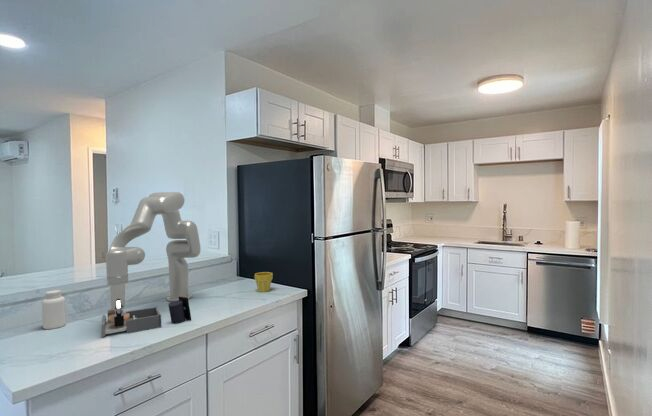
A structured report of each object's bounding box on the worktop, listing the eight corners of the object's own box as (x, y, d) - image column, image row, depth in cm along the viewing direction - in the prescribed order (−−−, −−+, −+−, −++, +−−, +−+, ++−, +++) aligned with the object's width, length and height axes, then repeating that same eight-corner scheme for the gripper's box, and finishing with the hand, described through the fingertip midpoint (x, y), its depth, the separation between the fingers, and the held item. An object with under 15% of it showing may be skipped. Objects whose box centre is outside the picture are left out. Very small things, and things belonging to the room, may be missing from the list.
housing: (157, 317, 159) (157, 306, 159) (161, 327, 146) (160, 315, 146) (125, 323, 153) (125, 311, 153) (126, 333, 140) (126, 320, 140)
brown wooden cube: (108, 321, 155) (107, 310, 155) (121, 319, 158) (120, 308, 158) (107, 324, 151) (107, 313, 151) (121, 322, 154) (121, 311, 154)
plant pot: (276, 289, 205) (276, 273, 205) (262, 293, 197) (262, 276, 197) (265, 287, 212) (264, 271, 212) (251, 291, 204) (250, 274, 204)
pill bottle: (40, 331, 146) (39, 294, 145) (45, 325, 153) (44, 290, 153) (64, 327, 149) (63, 292, 149) (67, 322, 156) (66, 288, 156)
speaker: (186, 316, 159) (183, 294, 157) (191, 320, 154) (188, 297, 153) (168, 322, 154) (166, 299, 152) (173, 326, 149) (171, 302, 148)
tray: (137, 320, 155) (136, 309, 155) (139, 330, 142) (138, 318, 142) (103, 326, 148) (102, 315, 148) (102, 337, 136) (101, 324, 136)
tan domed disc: (108, 319, 146) (108, 314, 146) (129, 316, 150) (129, 311, 150) (107, 324, 140) (107, 319, 140) (129, 321, 144) (129, 316, 144)
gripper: (107, 277, 150) (108, 319, 151) (106, 285, 135) (108, 331, 136) (127, 275, 154) (129, 315, 155) (128, 282, 139) (130, 327, 140)
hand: (119, 322), depth 145 cm, fingers closed on tan domed disc, 7 cm apart
